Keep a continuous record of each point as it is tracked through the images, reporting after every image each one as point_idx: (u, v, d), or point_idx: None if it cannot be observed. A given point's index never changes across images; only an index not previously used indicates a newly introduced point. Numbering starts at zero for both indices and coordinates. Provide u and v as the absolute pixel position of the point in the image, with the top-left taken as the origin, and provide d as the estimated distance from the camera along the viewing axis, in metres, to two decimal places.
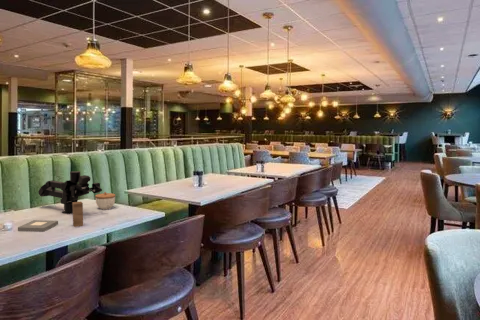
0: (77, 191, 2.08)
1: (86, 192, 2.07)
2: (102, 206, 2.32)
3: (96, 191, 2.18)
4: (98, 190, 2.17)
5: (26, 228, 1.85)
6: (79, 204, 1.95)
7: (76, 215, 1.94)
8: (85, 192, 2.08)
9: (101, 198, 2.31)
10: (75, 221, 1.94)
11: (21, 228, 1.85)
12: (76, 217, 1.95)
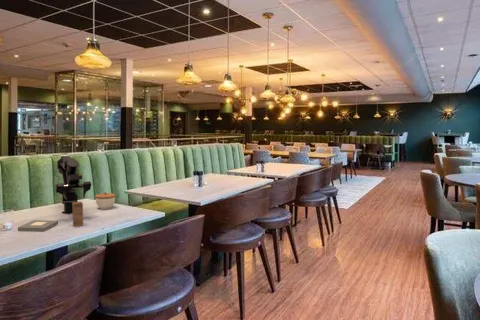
0: (60, 190, 2.02)
1: (65, 197, 2.01)
2: (102, 206, 2.32)
3: (83, 192, 2.09)
4: (83, 194, 2.08)
5: (26, 228, 1.85)
6: (79, 204, 1.95)
7: (76, 215, 1.94)
8: (64, 196, 2.01)
9: (101, 198, 2.31)
10: (75, 221, 1.94)
11: (21, 228, 1.85)
12: (76, 217, 1.95)
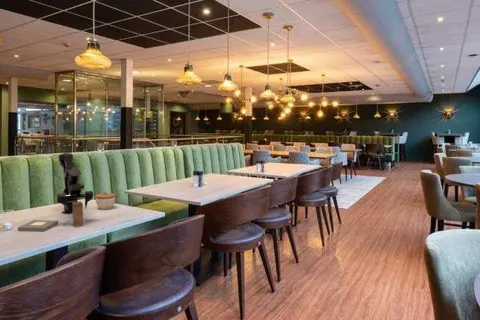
0: (61, 200, 1.97)
1: (66, 208, 1.96)
2: (102, 206, 2.32)
3: None
4: (85, 204, 2.02)
5: (26, 228, 1.85)
6: (79, 204, 1.95)
7: (76, 215, 1.94)
8: (66, 207, 1.96)
9: (101, 198, 2.31)
10: (75, 221, 1.94)
11: (21, 228, 1.85)
12: (76, 217, 1.95)
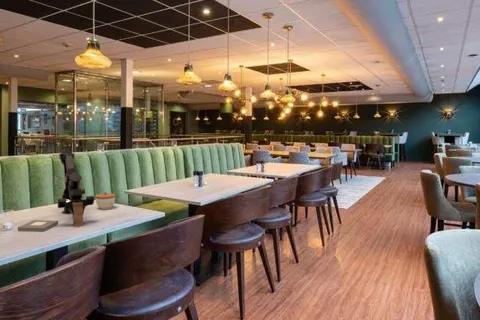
0: (66, 205, 1.96)
1: (71, 213, 1.95)
2: (102, 206, 2.32)
3: None
4: None
5: (26, 228, 1.85)
6: (79, 204, 1.95)
7: (76, 215, 1.94)
8: (71, 212, 1.95)
9: (101, 198, 2.31)
10: (75, 221, 1.94)
11: (21, 228, 1.85)
12: (76, 217, 1.95)
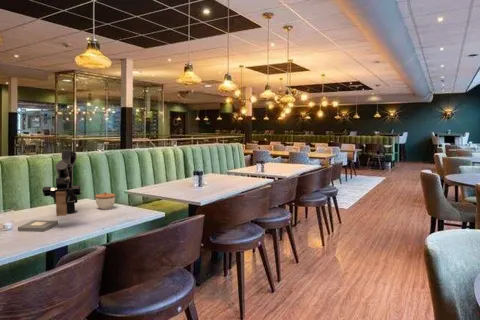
0: (51, 193, 1.93)
1: (55, 201, 1.91)
2: (102, 206, 2.32)
3: None
4: None
5: (26, 228, 1.85)
6: (61, 193, 1.90)
7: (58, 205, 1.90)
8: None
9: (101, 198, 2.31)
10: (57, 210, 1.90)
11: (21, 228, 1.85)
12: (58, 206, 1.90)
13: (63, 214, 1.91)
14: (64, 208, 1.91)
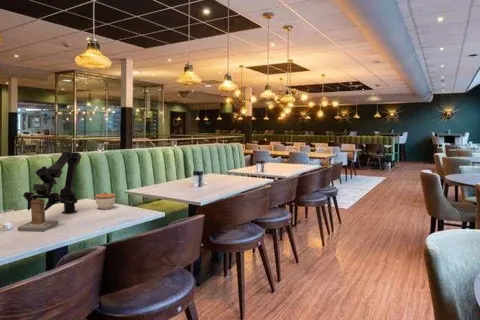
0: None
1: None
2: (102, 206, 2.32)
3: None
4: None
5: (26, 228, 1.85)
6: (36, 202, 1.88)
7: (33, 213, 1.89)
8: None
9: (101, 198, 2.31)
10: (32, 219, 1.89)
11: (21, 228, 1.85)
12: (33, 215, 1.89)
13: (38, 223, 1.89)
14: (39, 217, 1.89)
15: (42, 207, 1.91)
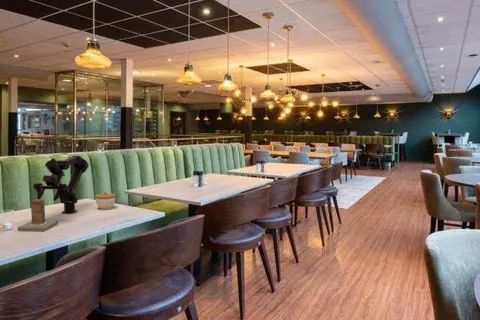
0: (37, 190, 2.03)
1: None
2: (102, 206, 2.32)
3: None
4: None
5: (26, 228, 1.85)
6: (36, 202, 1.88)
7: (33, 213, 1.89)
8: None
9: (101, 198, 2.31)
10: (32, 219, 1.89)
11: (21, 228, 1.85)
12: (33, 215, 1.89)
13: (38, 223, 1.89)
14: (39, 217, 1.89)
15: (42, 207, 1.91)
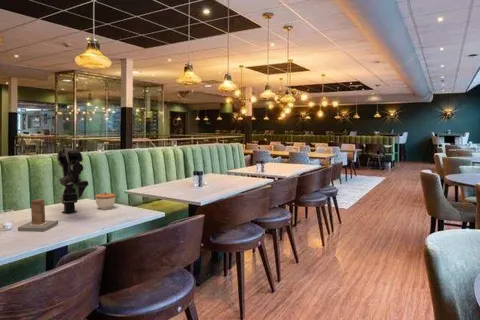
0: None
1: None
2: (102, 206, 2.32)
3: None
4: None
5: (26, 228, 1.85)
6: (36, 202, 1.88)
7: (33, 213, 1.89)
8: None
9: (101, 198, 2.31)
10: (32, 219, 1.89)
11: (21, 228, 1.85)
12: (33, 215, 1.89)
13: (38, 223, 1.89)
14: (39, 217, 1.89)
15: (42, 207, 1.91)
